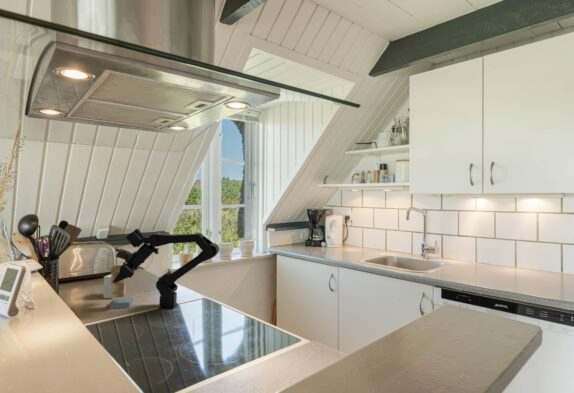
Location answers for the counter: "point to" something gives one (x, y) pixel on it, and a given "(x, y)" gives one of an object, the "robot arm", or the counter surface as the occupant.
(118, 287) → the oak pillar
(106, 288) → the small box
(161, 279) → the robot arm
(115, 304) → the slate base block
